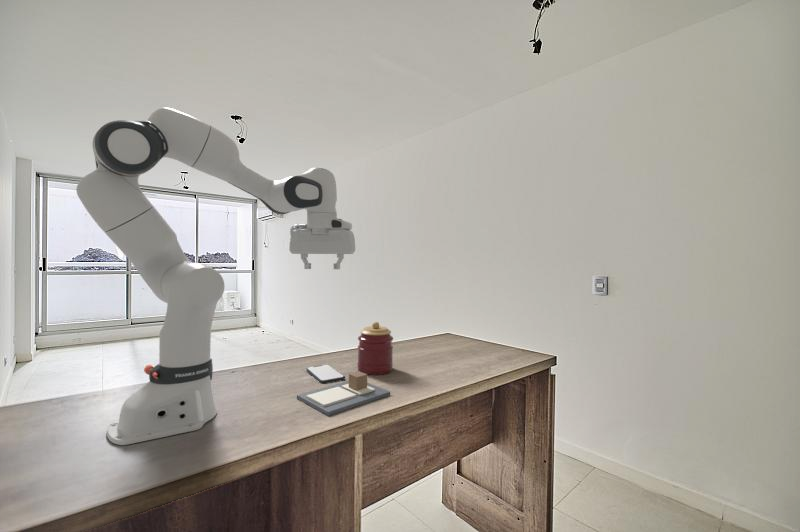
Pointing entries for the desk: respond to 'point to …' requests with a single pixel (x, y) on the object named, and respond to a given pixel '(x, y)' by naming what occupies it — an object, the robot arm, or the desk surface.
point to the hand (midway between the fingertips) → (322, 269)
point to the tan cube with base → (358, 384)
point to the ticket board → (339, 398)
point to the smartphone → (325, 373)
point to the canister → (375, 350)
